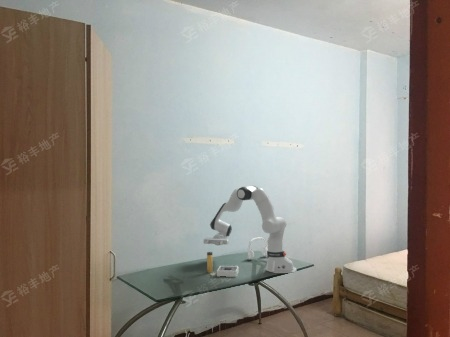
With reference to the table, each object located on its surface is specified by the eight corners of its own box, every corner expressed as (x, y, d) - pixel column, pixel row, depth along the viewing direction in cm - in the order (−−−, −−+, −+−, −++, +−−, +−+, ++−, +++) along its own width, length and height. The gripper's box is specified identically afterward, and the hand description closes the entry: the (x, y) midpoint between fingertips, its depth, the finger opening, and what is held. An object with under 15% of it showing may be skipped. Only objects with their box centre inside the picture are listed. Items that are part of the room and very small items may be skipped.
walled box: (238, 271, 250) (238, 266, 250) (236, 276, 237) (236, 271, 237) (220, 271, 252) (219, 265, 252) (216, 276, 239) (216, 270, 239)
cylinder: (213, 271, 252) (212, 251, 252) (212, 273, 248) (211, 253, 248) (207, 271, 252) (207, 251, 253) (206, 272, 248) (206, 253, 249)
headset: (251, 260, 281) (250, 239, 281) (246, 259, 287) (245, 238, 287) (269, 257, 292) (269, 236, 292) (264, 255, 298) (263, 235, 298)
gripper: (206, 235, 278) (200, 238, 265) (230, 236, 273) (226, 239, 260) (206, 243, 278) (200, 246, 265) (230, 244, 273) (226, 247, 260)
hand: (213, 243), depth 262 cm, fingers open, 8 cm apart
